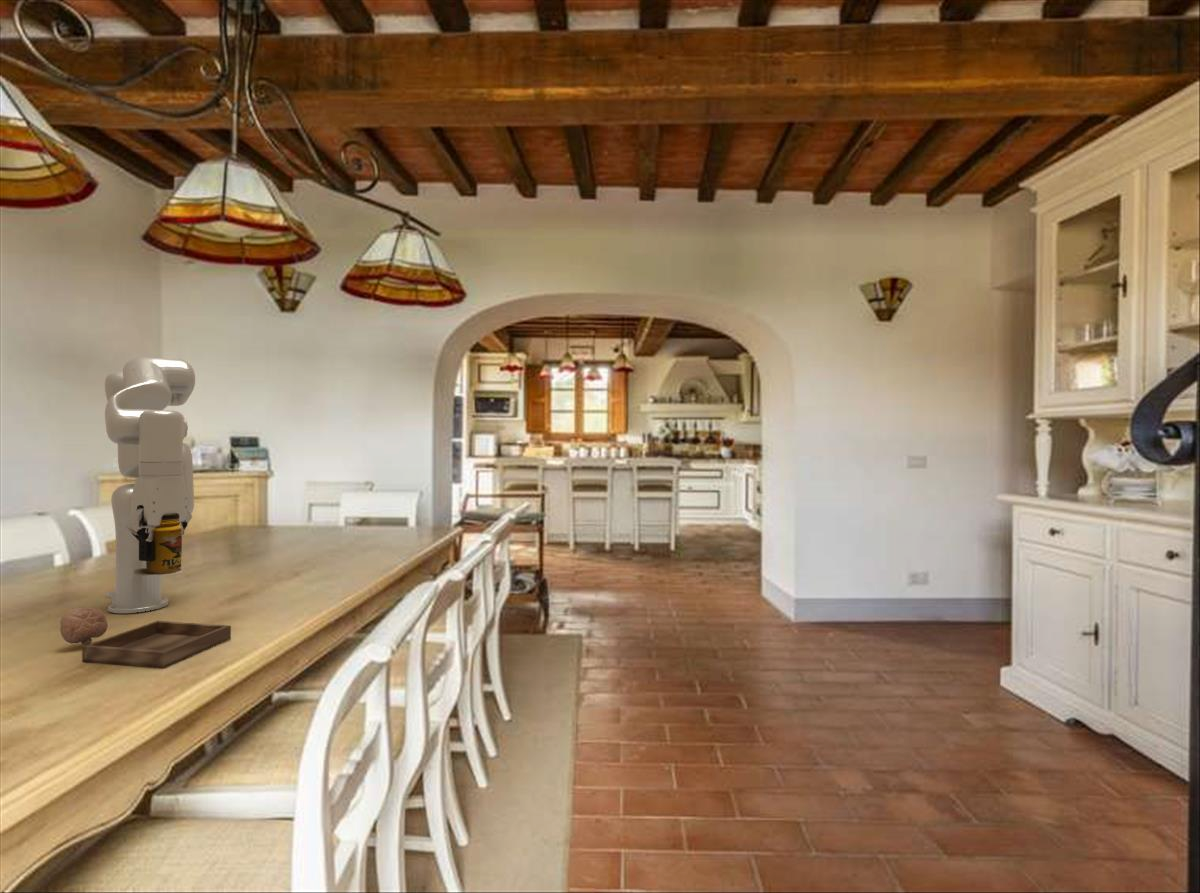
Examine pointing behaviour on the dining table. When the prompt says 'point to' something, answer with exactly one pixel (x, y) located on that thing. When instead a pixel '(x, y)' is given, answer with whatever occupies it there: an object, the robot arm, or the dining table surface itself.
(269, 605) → the dining table surface
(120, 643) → the tray
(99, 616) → the mushroom
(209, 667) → the dining table surface
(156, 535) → the condiment
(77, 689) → the dining table surface
